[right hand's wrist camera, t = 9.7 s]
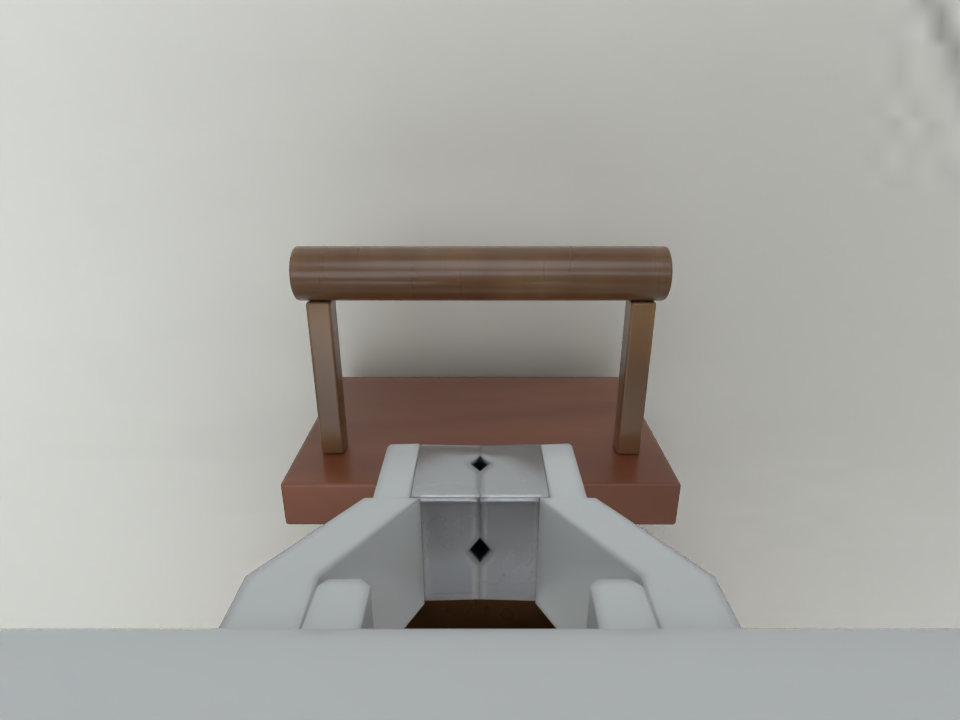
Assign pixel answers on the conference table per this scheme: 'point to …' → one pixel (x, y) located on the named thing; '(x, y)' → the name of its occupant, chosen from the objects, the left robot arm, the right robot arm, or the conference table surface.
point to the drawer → (481, 388)
